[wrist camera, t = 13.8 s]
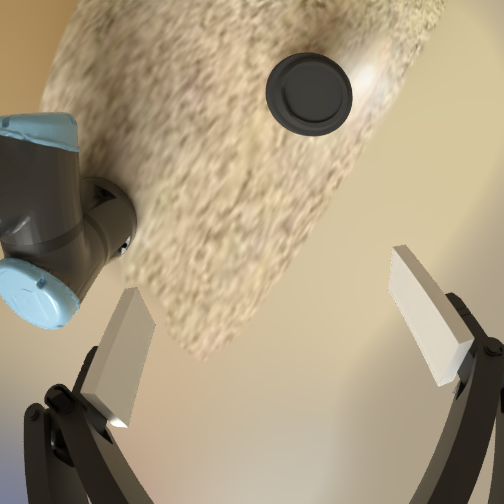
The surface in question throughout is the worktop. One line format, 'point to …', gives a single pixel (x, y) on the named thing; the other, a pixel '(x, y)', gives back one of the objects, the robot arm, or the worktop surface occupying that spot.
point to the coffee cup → (309, 94)
